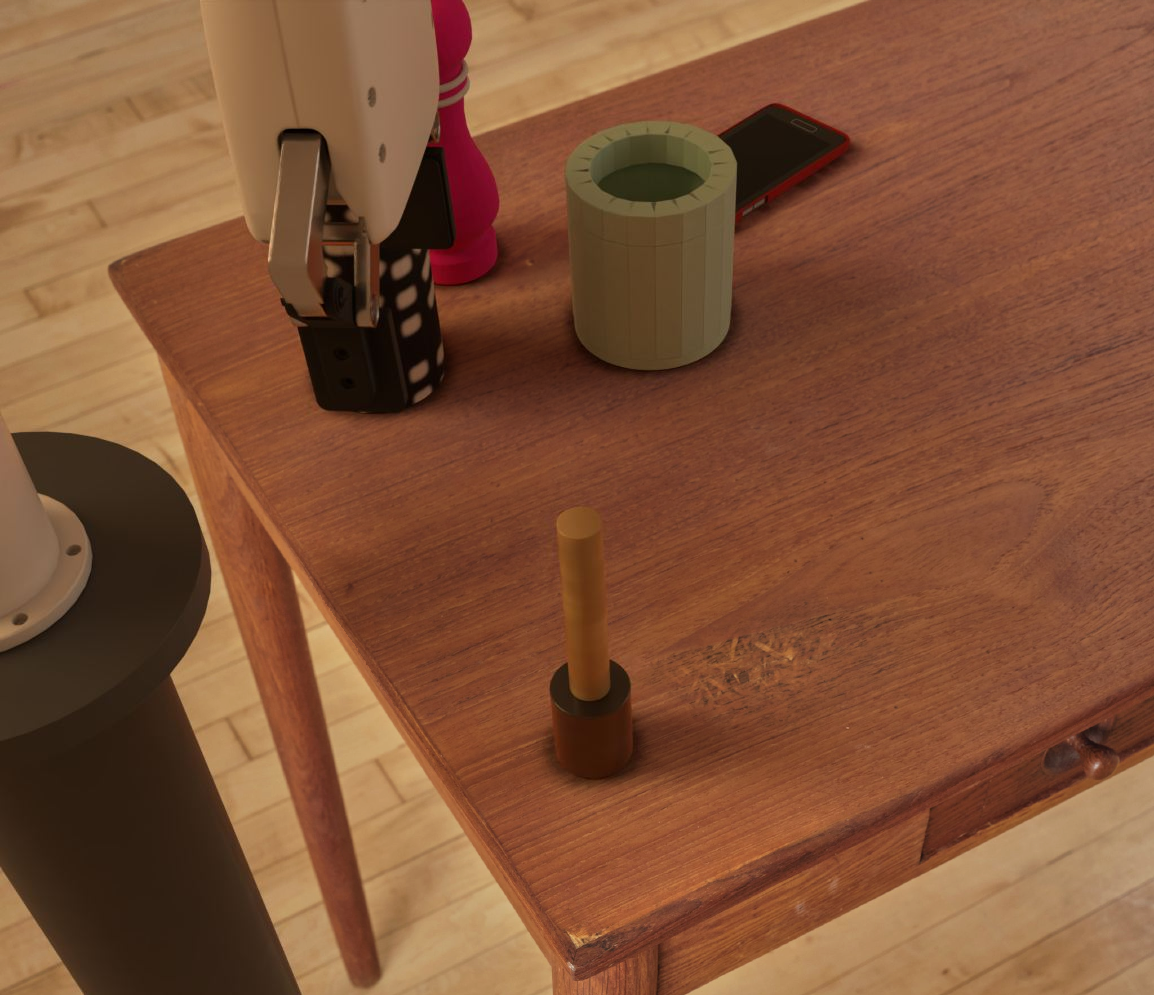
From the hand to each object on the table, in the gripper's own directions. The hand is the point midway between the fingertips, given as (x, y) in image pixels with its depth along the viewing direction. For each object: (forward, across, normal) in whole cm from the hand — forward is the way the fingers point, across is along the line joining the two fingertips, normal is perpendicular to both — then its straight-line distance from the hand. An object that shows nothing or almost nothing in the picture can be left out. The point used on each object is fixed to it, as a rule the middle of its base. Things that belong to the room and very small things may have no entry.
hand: (391, 321), depth 56 cm
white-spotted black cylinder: (+27, -30, -12) cm, 42 cm away
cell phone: (+27, -54, +11) cm, 61 cm away
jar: (+27, -37, +5) cm, 46 cm away
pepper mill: (+27, -43, -9) cm, 51 cm away
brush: (+27, -1, +6) cm, 28 cm away
